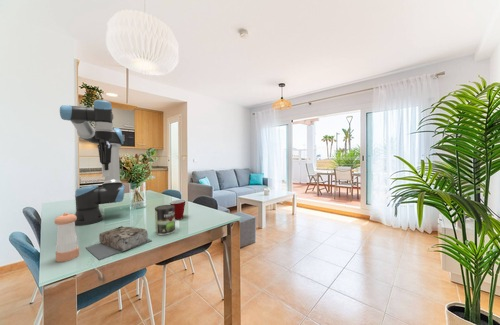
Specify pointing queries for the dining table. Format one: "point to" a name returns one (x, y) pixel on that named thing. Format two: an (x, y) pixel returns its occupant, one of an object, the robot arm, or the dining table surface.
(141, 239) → the stone block
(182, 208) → the plastic cup
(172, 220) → the coffee can
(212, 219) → the dining table surface
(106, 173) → the robot arm
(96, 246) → the mat
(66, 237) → the salt shaker
